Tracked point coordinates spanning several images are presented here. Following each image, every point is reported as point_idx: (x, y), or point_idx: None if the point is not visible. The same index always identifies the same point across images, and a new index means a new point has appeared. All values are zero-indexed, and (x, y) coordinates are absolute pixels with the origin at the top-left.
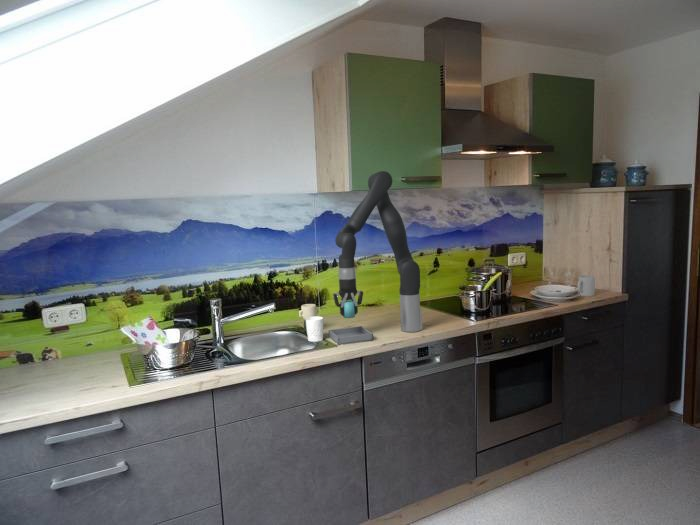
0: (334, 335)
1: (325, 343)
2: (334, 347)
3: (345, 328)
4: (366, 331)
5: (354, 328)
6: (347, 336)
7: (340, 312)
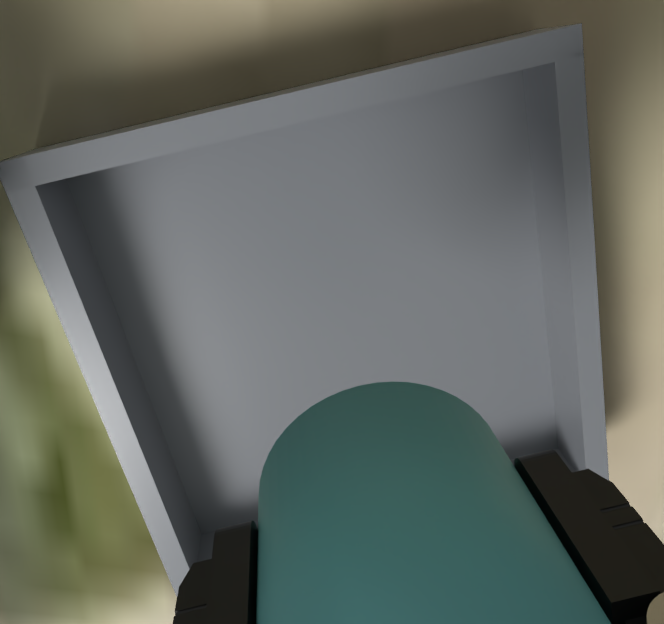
0: (128, 480)
1: (35, 463)
2: (154, 604)
3: (292, 124)
4: (572, 344)
5: (443, 86)
6: (305, 288)
7: (187, 616)
